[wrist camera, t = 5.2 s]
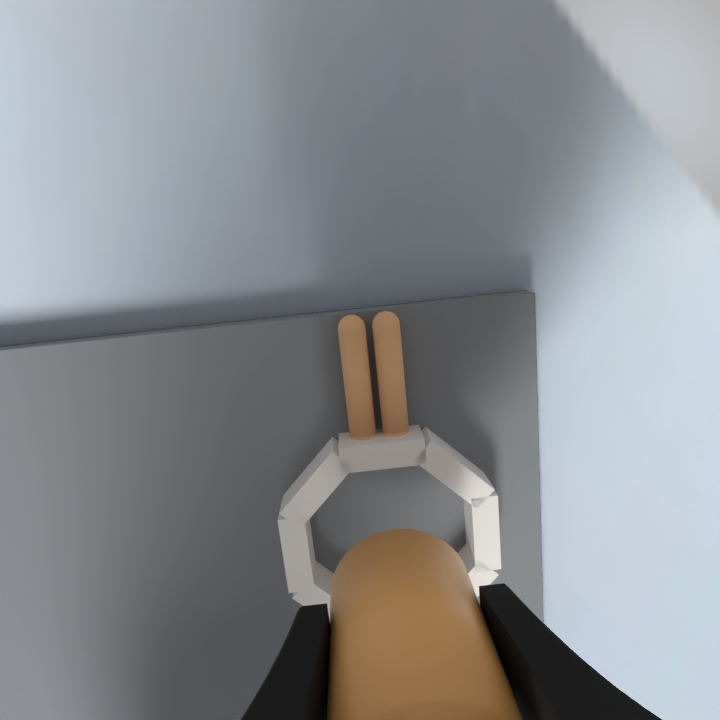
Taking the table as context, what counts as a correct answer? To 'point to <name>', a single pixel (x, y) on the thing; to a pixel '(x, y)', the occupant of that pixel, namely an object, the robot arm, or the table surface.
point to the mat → (246, 490)
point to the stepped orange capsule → (411, 636)
